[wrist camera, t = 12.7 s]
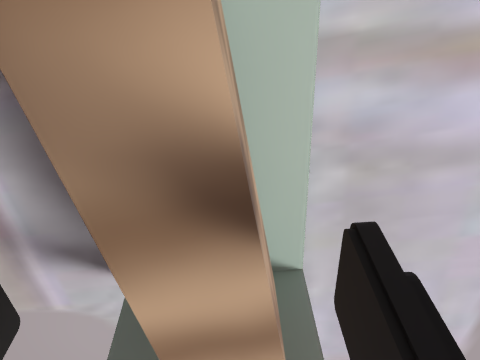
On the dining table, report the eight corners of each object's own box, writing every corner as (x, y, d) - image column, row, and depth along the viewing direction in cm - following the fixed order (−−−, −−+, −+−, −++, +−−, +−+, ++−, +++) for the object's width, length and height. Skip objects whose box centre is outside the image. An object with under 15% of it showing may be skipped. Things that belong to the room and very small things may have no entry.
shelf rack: (298, 274, 27) (332, 426, 19) (138, 283, 27) (98, 440, 19) (332, -304, 12) (600, -924, 3) (-31, -284, 12) (-677, -855, 3)
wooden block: (19, -149, 11) (-165, -232, 6) (184, -190, 10) (146, -316, 5) (190, 292, 22) (180, 398, 17) (274, 280, 21) (289, 384, 16)
